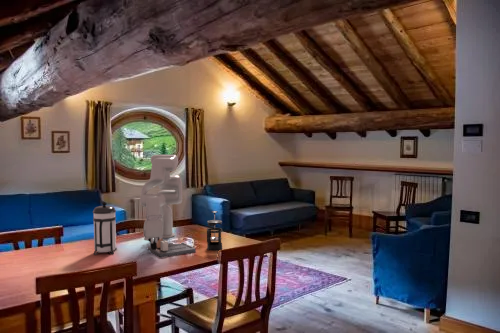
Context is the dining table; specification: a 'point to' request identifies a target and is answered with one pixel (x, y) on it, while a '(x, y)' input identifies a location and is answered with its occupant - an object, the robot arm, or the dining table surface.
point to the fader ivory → (164, 245)
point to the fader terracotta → (159, 243)
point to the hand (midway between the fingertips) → (153, 249)
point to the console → (173, 250)
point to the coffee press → (104, 229)
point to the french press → (214, 245)
